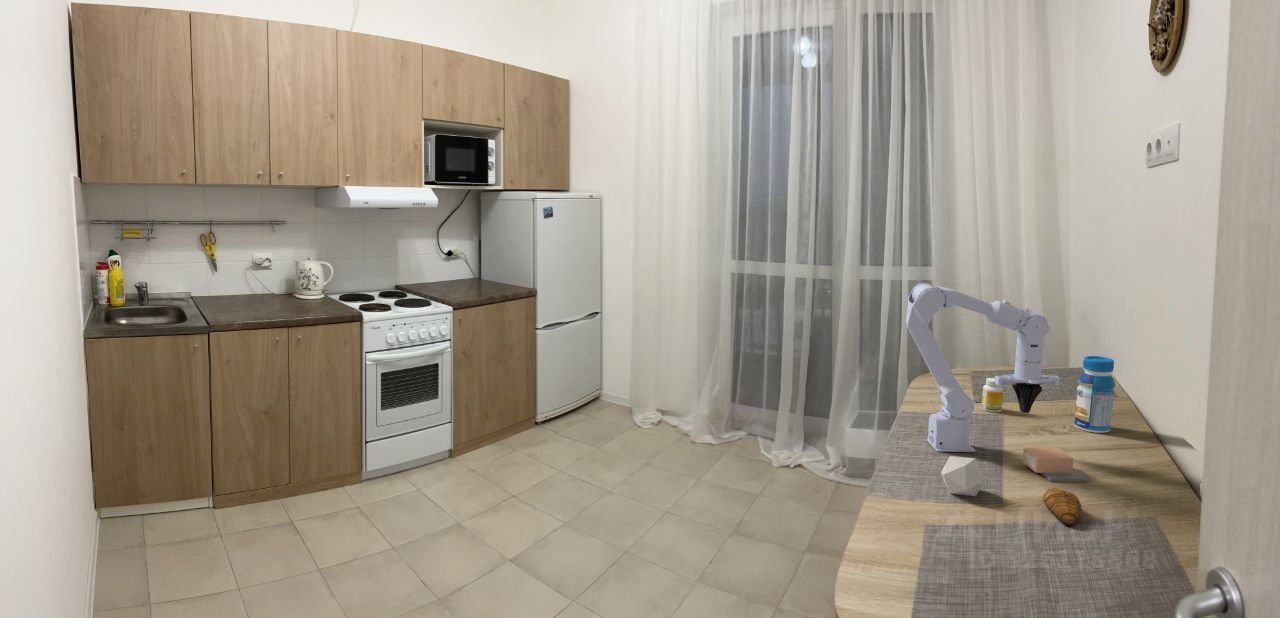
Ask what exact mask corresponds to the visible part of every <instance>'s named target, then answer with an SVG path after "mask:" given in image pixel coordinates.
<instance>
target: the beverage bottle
mask: <svg viewBox="0 0 1280 618" xmlns="http://www.w3.org/2000/svg"><path fill="white" fill-rule="evenodd" d="M1082 361H1083V362H1082V370H1083V372H1082V373H1081V374H1080V376H1079V378H1078V381H1077V382H1078V386H1077V388H1076V399H1075V400H1076V404H1075V413H1074V414H1075V415H1074V421H1073V425H1074V426H1075V427H1076V428H1077V429H1079V430H1081V431H1084V432H1089V433H1096V434H1105V433H1108V432H1110V431H1111V427H1112V417H1113V416H1112V415H1113V407H1114V400H1115V399H1114V398H1115V397H1116V396H1115V395H1116V392H1115V390H1114V388H1115V387H1116V383H1115V379H1114V377H1113V376H1112V374H1111V373H1113V371H1114V367H1115V366H1114V365H1115V362H1114V361H1115V360H1114V359H1113V358H1110V357H1107V356H1101V355H1100V356H1099V355H1087V356H1085V357H1083V360H1082Z"/></svg>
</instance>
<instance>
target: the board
mask: <svg viewBox="0 0 1280 618" xmlns="http://www.w3.org/2000/svg"><path fill="white" fill-rule="evenodd" d="M1040 475H1042V476H1043V477H1044V478H1046V480H1048V481H1049V482H1053V483H1054V482H1055V483H1062V482H1063V483H1067V482H1068V483H1088V481H1089V478H1087V476H1085V475H1084V474H1082V473H1081V472H1080V471H1078V470H1077V469H1076V468H1074V467H1073V470H1072V473H1040Z"/></svg>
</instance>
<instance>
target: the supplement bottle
mask: <svg viewBox="0 0 1280 618" xmlns="http://www.w3.org/2000/svg"><path fill="white" fill-rule="evenodd" d="M981 396H982V397H981V410H983V411H985V412H989V413H1000V412H1002V410H1003V396H1004V388H1003V387H1002V385H997V384H996V383H995V377H987V378H985V384H984V385H983V387H982V395H981Z"/></svg>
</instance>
